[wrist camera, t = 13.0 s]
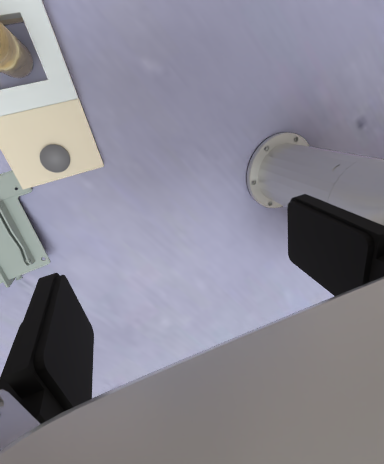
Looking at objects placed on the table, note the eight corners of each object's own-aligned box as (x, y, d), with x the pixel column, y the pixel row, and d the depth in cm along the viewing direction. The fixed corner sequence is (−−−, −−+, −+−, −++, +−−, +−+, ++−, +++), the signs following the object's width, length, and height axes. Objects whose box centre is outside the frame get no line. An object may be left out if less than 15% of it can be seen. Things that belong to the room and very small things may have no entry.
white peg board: (-143, -123, 21) (-187, -166, 17) (-7, -130, 23) (-23, -170, 19) (25, 186, 33) (18, 194, 30) (103, 164, 35) (105, 169, 32)
